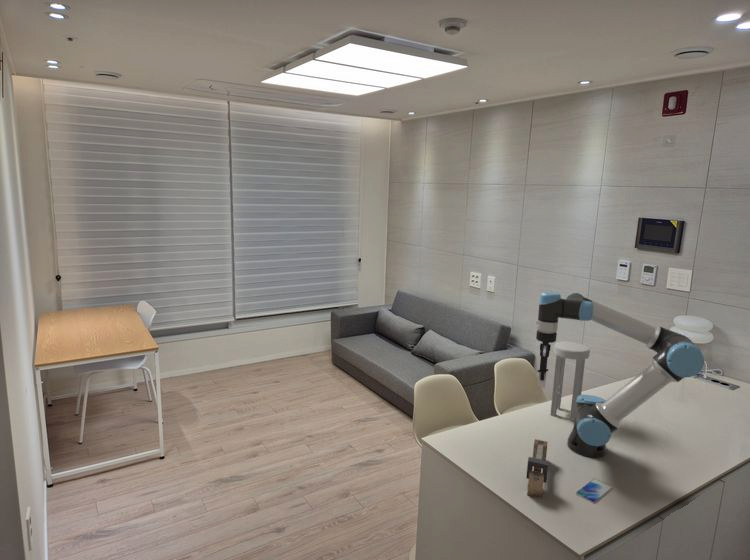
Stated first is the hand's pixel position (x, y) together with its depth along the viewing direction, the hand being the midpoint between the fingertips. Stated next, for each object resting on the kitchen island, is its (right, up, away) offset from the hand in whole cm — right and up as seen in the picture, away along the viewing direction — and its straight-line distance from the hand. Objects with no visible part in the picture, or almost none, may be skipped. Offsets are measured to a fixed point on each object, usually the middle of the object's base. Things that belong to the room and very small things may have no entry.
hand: (541, 386), depth 194 cm
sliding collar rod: (-6, -32, -11) cm, 34 cm away
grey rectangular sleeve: (-8, -29, -19) cm, 36 cm away
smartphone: (+13, -34, -19) cm, 41 cm away
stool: (+26, -23, +42) cm, 55 cm away
